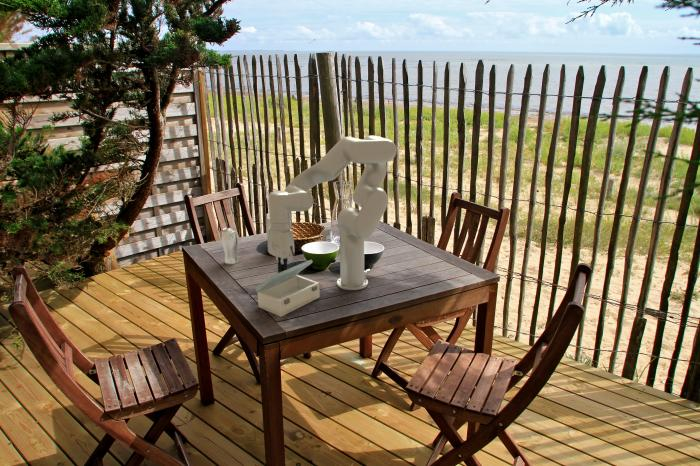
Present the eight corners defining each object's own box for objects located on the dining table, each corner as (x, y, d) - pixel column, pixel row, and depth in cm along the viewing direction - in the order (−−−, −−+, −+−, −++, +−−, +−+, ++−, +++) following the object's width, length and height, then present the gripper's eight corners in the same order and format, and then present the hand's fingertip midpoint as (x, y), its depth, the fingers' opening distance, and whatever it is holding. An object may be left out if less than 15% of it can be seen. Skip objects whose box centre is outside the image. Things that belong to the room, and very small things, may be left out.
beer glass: (237, 264, 231) (235, 232, 226) (222, 265, 231) (218, 232, 226) (241, 259, 238) (238, 227, 233) (225, 259, 238) (223, 227, 233)
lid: (296, 274, 205) (295, 271, 206) (312, 262, 197) (311, 259, 197) (256, 291, 191) (255, 288, 191) (272, 279, 183) (271, 276, 183)
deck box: (297, 288, 207) (296, 274, 205) (321, 297, 199) (320, 283, 197) (258, 306, 193) (257, 291, 191) (282, 317, 185) (281, 302, 183)
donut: (340, 246, 252) (340, 226, 249) (340, 248, 249) (340, 228, 245) (319, 246, 252) (319, 226, 249) (319, 249, 249) (318, 229, 245)
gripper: (258, 223, 190) (261, 270, 196) (287, 232, 181) (289, 281, 187) (274, 219, 195) (276, 264, 201) (302, 227, 186) (304, 274, 192)
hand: (282, 272), depth 194 cm, fingers closed
